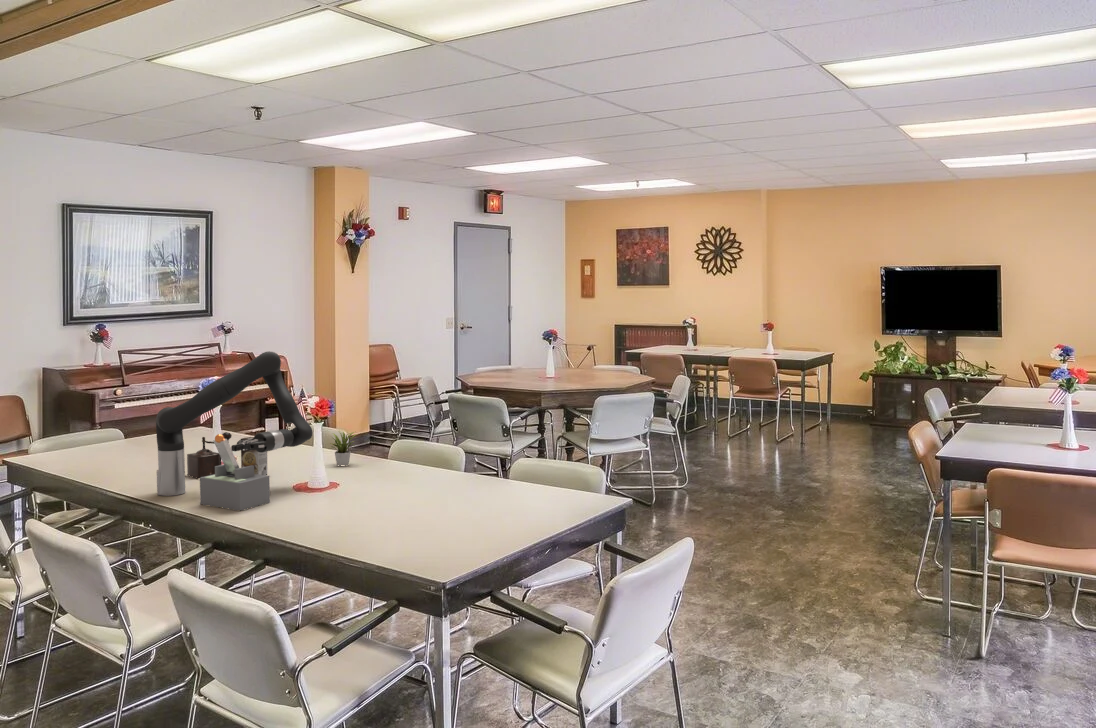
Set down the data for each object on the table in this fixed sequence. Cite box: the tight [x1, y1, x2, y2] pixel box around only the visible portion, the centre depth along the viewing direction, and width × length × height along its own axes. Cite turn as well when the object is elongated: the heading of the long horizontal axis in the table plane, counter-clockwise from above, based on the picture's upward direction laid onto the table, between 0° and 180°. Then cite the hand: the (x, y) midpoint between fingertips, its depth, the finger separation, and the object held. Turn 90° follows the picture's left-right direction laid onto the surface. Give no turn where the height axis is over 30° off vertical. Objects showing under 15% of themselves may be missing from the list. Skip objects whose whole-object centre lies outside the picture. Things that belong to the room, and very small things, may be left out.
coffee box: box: [240, 436, 269, 476], centre depth 345 cm, size 9×6×16 cm
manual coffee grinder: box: [186, 431, 232, 479], centre depth 346 cm, size 16×11×18 cm
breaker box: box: [199, 464, 271, 511], centre depth 297 cm, size 14×20×14 cm
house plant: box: [329, 431, 358, 467], centre depth 367 cm, size 14×14×16 cm
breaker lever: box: [212, 433, 240, 476], centre depth 293 cm, size 3×6×18 cm, turn 63°
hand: (232, 448), depth 295 cm, fingers closed
